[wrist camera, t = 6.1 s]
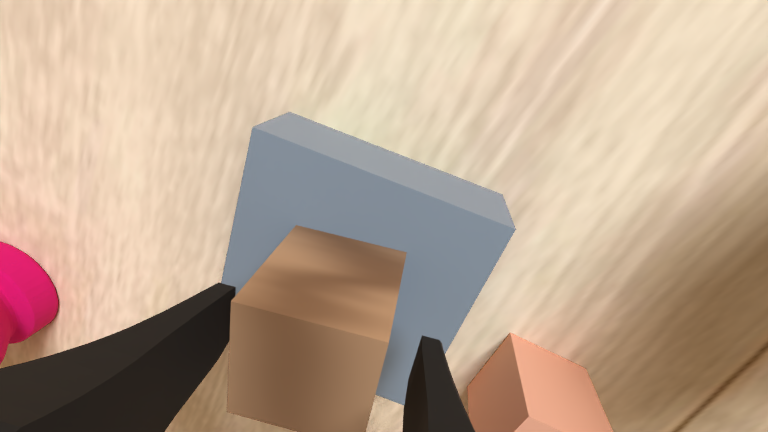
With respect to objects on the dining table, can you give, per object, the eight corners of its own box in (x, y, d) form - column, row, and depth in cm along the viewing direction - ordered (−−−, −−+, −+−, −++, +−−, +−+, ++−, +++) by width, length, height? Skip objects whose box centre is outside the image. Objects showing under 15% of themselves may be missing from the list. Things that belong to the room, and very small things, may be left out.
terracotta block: (585, 367, 20) (626, 461, 16) (536, 418, 22) (560, 515, 17) (509, 331, 20) (528, 416, 15) (467, 385, 22) (472, 475, 17)
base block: (501, 191, 17) (515, 229, 14) (418, 348, 22) (413, 409, 18) (293, 110, 17) (252, 126, 14) (250, 283, 22) (211, 331, 18)
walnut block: (406, 252, 15) (388, 342, 10) (384, 339, 17) (360, 449, 12) (296, 224, 15) (231, 301, 11) (286, 313, 17) (227, 411, 12)
